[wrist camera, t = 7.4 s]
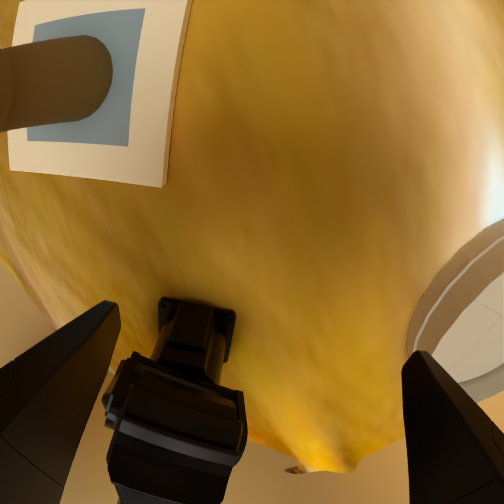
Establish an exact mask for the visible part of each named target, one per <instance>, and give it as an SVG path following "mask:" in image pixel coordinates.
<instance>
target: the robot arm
mask: <svg viewBox="0 0 504 504" xmlns="http://www.w3.org/2000/svg"><path fill="white" fill-rule="evenodd" d="M163 303H165V304H166V305H165V304H163ZM228 316H231V317H228ZM158 317H159V337H158V340H157V342H156V345H155V348H154V350H153V353H152V356H151V358H150V359H149V358H146V357H144V356H142V355H140V353H138V352H135V351H133V353H132V355H131V358H127V360H121V362H120V364H119V367H118V369H117V371H116V373H115V376H114V378H113V379H112V381H111V383H110V385H109V386H108V388H107V389H106V391H105V393H104V395H103V397H102V401H101V402H102V404H103V406H104V408H105V410H106V412H105V416H106V421H105V427H107V428H110V429H113V430H114V434H113V437H112V440H111V443H110V446H109V449H108V453H107V457H106V460H107V464H108V472H109V476H110V479H111V482H112V484H114V485H115V488H116V490H117V493H118V496H119V499H118V503H117V504H220V503H221V502H222V501H223V499H224V495H225V490H226V487H227V483H228V479H229V476H230V473H231V471H232V468H233V467H234V466H235V465H236V464H237V463H238V462H239V460H240V458H241V457H242V454H243V452H244V449H245V446H246V442H247V434H248V429H247V420H246V412H245V403H244V395H243V392H242V391H239V390H232V389H229V388H226V387H223V386H220V385H219V384H220V378H221V372H222V366H223V363H225V362H227V360H228V355H229V350H230V345H231V340H232V335H233V330H234V325H235V320H236V314H235V313H234V312H233V311H229V310H224V309H218V308H213V307H208V306H203V305H197V304H192V303H188V302H183V301H178V300H173V299H168V298H161V299H160V300H159V303H158ZM120 329H121V320H120V313H119V307H118V304H117V303H115V302H111V301H107V300H104V301H102V302H100V303H99V304H97V305H95V306H94V307H92V308H91V309H89V310H88V311H86V312H84V313H83V314H81V315H80V316H78V317H77V318H75V319H74V320H72V321H70V322H69V323H67V324H66V325H64V326H63V327H61V328H60V329H58V330H57V331H55V332H54V333H52V334H51V335H49V336H48V337H46V338H45V339H43V340H42V341H40V342H39V343H37V344H36V345H34V346H33V347H31V348H30V349H28V350H27V351H25V352H24V353H22V354H21V355H19V356H18V357H16V358H15V359H14V361H13V360H12V361H10V362H9V363H7V364H6V365H5V366H3V367H2V368H0V504H59V503H60V500H61V497H62V493H63V490H64V486H65V483H66V480H67V477H68V474H69V471H70V468H71V465H72V462H73V459H74V457H75V454H76V451H77V448H78V445H79V443H80V440H81V437H82V434H83V432H84V429H85V427H86V424H87V421H88V419H89V416H90V414H91V411H92V409H93V406H94V403H95V401H96V399H97V396H98V393H99V391H100V389H101V386H102V384H103V382H104V379H105V377H106V374H107V371H108V368H109V365H110V361H111V358H112V355H113V352H114V348H115V345H116V342H117V339H118V336H119V333H120ZM401 376H402V398H403V418H404V427H405V436H406V447H407V458H408V473H409V498H410V499H409V500H410V504H504V433H503V432H502V431H501V430H500V429H499V428H498V427H497V426H496V425H495V423H494V422H493V421H491V419H490V418H489V417H488V416H487V415H486V414H485V412H484V411H483V410H482V409H481V408H480V407H479V406H478V405H477V403H476V402H475V401H474V400H473V399H472V398H471V397H470V396H469V395H468V394H467V393H466V391H465V390H464V389H463V388H462V387H461V386H460V385H459V384H458V383H457V382H456V381H455V380H454V379H453V378H452V377H451V376H450V374H449V373H448V372H447V371H446V370H445V369H444V368H443V367H442V366H441V365H440V364H439V363H438V362H437V361H436V360H435V359H434V358H433V357H432V356H431V355H430V354H429V353H428V352H427V351H424V350H416V351H414V352H413V353H412V355H411V356H410V357H409V359H408V360H407V361H406V363H405V364H404V365H403V367H402V372H401Z"/></svg>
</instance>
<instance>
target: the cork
mask: <svg viewBox="0 0 504 504" xmlns="http://www.w3.org/2000/svg"><path fill="white" fill-rule="evenodd" d="M112 76H113V65H112V59H111V55H110V53H109V51H108V49H107V48H106V46H105V44H103V43H102V42H101V41H100V40H98V39H97V38H95V37H91V36H87V35H80V36H71V37H63V38H56V39H49V40H43V41H37V42H32V43H27V44H22V45H18V46H13V47H9V48H5V49H0V132H4V131H9V130H15V129H21V128H27V127H34V126H41V125H48V124H56V123H65V122H76V121H80V120H82V119H85V118H87V117H89V116H90V115H92V114H93V113H94V112H95V111H97V110H98V109H99V107H100V106H101V105H102V103H103V102H104V100H105V99H106V97H107V95H108V92H109V89H110V87H111V84H112Z"/></svg>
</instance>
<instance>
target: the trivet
mask: <svg viewBox="0 0 504 504" xmlns="http://www.w3.org/2000/svg"><path fill="white" fill-rule="evenodd" d="M191 5H192V0H26V1H23V2H20V4H19V8H18V13H17V18H16V24H15V29H14V35H13V42H12V47H13V46H18V45H22V44H27V43H32V42H37V41H43V40H49V39H56V38H63V37H71V36H80V35H87V36H91V37H95V38H97V39H98V40H100V41H101V42H102V43H103V44H105V46H106V48H107V49H108V51H109V53H110V55H111V59H112V65H113V76H112V84H111V87H110V89H109V92H108V95H107V97H106V99H105V100H104V102H103V103H102V105H101V106H100V107H99V109H98V110H97V111H95V112H94V113H93V114H92V115H90V116H89V117H87V118H85V119H82V120H80V121H76V122H65V123H56V124H48V125H41V126H34V127H27V128H21V129H15V130H9V131H8V151H9V164H10V170H13V171H25V172H36V173H46V174H56V175H65V176H74V177H83V178H91V179H99V180H107V181H115V182H123V183H130V184H137V185H144V186H151V187H158V188H162V187H163V186H164V185H165V184H166V183H167V171H168V160H169V149H170V139H171V129H172V120H173V112H174V104H175V96H176V89H177V82H178V76H179V69H180V63H181V57H182V51H183V45H184V40H185V34H186V29H187V24H188V19H189V14H190V10H191Z"/></svg>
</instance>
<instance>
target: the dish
mask: <svg viewBox="0 0 504 504" xmlns="http://www.w3.org/2000/svg"><path fill="white" fill-rule="evenodd" d="M406 345H407V350H408V355H409V357H410V356H411V355H412V353H413V352H414V351H416V350H424V351H427V352H428V353H429V354H430V355H431V356H432V357H433V358H434V359H435V360H436V361H437V362H438V363H439V364H440V365H441V366H442V367H443V368H444V369H445V370H446V371H447V372H448V373H449V374H450V376H451V377H452V378H453V379H454V380H455V381H456V382H457V383H458V384H459V385H460V386H461V387H462V388H463V389H464V390H465V391H466V393H467V394H468V395H469V396H470V397H471V398H472V399H473V400H474V401H475V402H476V403H477V402H480V401H482V400H484V399H487V398H490V397H492V396H494V395H496V394H498V393H499V392H501V391H503V390H504V219H503V220H501V221H499V222H497V223H495V224H493V225H491V226H489V227H487V228H485V229H484V230H483V231H482V232H481V233H479V234H478V235H477V236H476V237H474V238H473V239H472V240H471V241H469V242H468V243H467V244H466V245H464V246H463V247H462V248H461V249H460V250H459V251H458V252H457V253H456V254H455V255H454V257H453V258H452V259H451V260H450V261H449V262H448V263H447V264H446V265H445V266H444V267H443V268H442V270H441V271H440V272H439V273H438V274H437V276H436V277H435V279H434V280H433V282H432V283H431V285H430V286H429V288H428V289H427V291H426V292H425V294H424V295H423V297H422V298H421V300H420V302H419V304H418V307H417V309H416V311H415V313H414V316H413V318H412V320H411V322H410V325H409V331H408V337H407V343H406ZM498 372H499V373H498ZM489 377H490V378H489Z"/></svg>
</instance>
